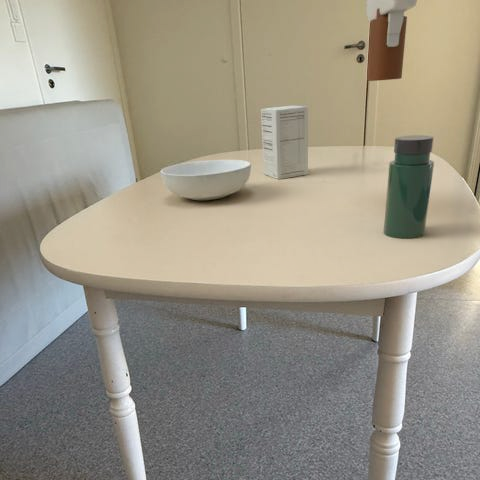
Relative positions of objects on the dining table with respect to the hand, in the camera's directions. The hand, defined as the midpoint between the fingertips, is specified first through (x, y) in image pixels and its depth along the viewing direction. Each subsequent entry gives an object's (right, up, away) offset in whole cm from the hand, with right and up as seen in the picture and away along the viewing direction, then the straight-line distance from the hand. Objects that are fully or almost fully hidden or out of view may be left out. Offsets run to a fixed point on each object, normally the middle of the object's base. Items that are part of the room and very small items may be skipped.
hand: (386, 48), depth 76 cm
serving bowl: (-33, -18, +29) cm, 47 cm away
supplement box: (-13, -7, +46) cm, 48 cm away
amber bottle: (0, -4, +2) cm, 5 cm away
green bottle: (+2, -32, -3) cm, 32 cm away
